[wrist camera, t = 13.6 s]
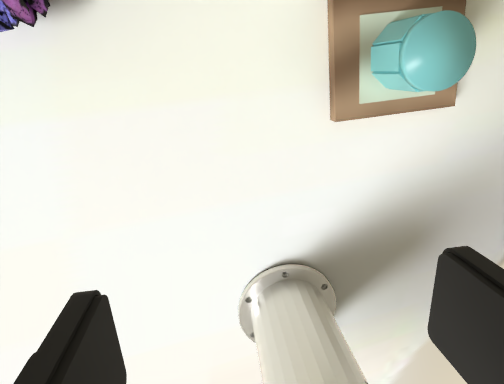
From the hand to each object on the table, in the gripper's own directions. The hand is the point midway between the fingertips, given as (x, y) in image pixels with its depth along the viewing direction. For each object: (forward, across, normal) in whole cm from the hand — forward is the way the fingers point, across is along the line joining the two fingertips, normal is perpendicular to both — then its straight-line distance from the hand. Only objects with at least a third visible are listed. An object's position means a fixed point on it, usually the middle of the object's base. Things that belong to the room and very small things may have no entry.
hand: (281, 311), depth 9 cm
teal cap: (+25, -17, -7) cm, 31 cm away
